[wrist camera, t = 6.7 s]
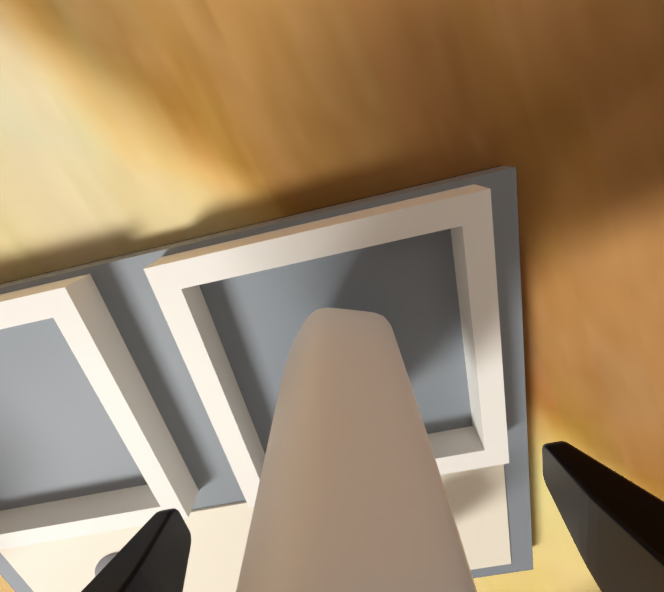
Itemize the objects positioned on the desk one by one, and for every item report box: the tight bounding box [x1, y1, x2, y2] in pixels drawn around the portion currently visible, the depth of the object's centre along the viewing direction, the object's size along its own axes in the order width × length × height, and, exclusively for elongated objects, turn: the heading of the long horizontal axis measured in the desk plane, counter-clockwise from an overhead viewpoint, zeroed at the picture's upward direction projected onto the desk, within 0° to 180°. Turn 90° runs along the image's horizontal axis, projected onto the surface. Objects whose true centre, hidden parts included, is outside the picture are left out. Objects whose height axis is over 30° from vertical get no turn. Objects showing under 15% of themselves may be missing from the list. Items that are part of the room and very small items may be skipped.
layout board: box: [0, 166, 533, 592], centre depth 13 cm, size 18×24×6 cm
